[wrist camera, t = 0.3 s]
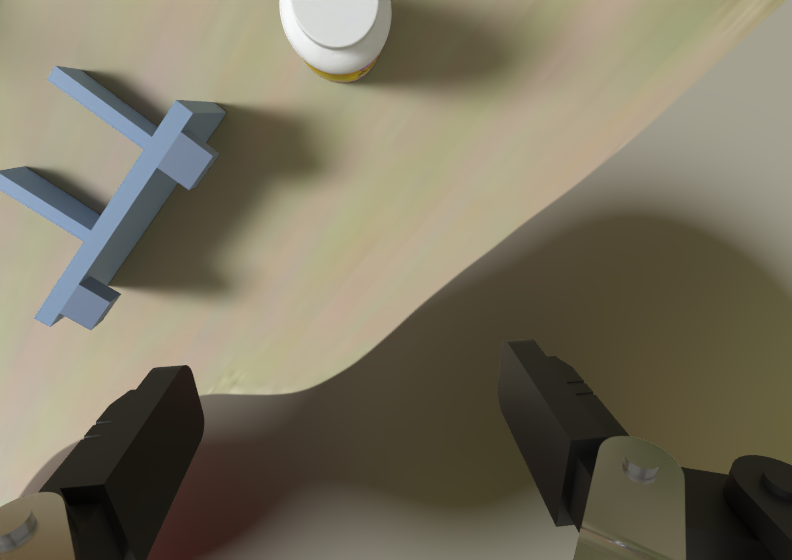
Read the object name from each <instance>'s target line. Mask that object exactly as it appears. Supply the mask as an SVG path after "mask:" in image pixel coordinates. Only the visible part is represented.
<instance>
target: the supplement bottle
mask: <svg viewBox="0 0 792 560" xmlns="http://www.w3.org/2000/svg"><path fill="white" fill-rule="evenodd" d="M279 5H280V16H281V21H282V24H283V28H284V31H285V33H286V36H287V38H288V40H289V42H290V43H291V45H292V46H293V48H294V49H295V51H296V52H297V53H298V54H299V56H300V57H301V58H302V59H303V60H304V61H305V63H306V64H307V65H308V66H309V67H310V68H311V69H312V70H313V71H314V72H315V73H316V74H317V75H319V76H320V77H322V78H324V79H326V80H328V81H331V82H336V83H348V82H352V81H355V80H357V79H360V78H361V77H363V76H364V75H365V74H367V73H368V72H369V71H370V70H371V68H372V67H373V66H374V64H375V62H376V61H377V59H378V57H379V55H380V53H381V51H382V48H383V46H384V44H385V42H386V40H387V37H388V34H389V30H390V26H391V16H392V11H391V1H390V0H280V3H279Z"/></svg>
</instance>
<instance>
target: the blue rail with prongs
mask: <svg viewBox="0 0 792 560" xmlns="http://www.w3.org/2000/svg"><path fill="white" fill-rule="evenodd" d="M47 80H48V81H49V82H51V83H52V84H54V85H55V86H56V87H58V88H59V89H61V90H62V91H63V92H65V93H66V94H68V95H69V96H70V97H72V98H73V99H74V100H76V101H77V102H79V103H80V104H81V105H83V106H84V107H86V108H87V109H88V110H90V111H91V112H93V113H94V114H95V115H97V116H98V117H99V118H101V119H102V120H104V121H105V122H106V123H108V124H109V125H111V126H112V127H113V128H115V129H116V130H118V131H119V132H120V133H122V134H123V135H124V136H126V137H127V138H129V139H130V140H131V141H133V142H134V143H136V144H137V145H138V146H140V147H141V148H143V149H144V150H143V151H142V153H141V154H140V156H139V158H138V159H137V161H136V162H135V164H134V165H133V167H132V168H131V170H130V171H129V173H128V174H127V176H126V178H125V179H124V181H123V182H122V184H121V185H120V187H119V188H118V190H117V191H116V193H115V194H114V196H113V197H112V199H111V201H110V202H109V204H108V205H107V207H106V208H105V210H104V211H103V213H102V214H101V215H99V214H98V213H96V212H95V211H93V210H92V209H90V208H89V207H87V206H85V205H84V204H82V203H81V202H79V201H78V200H76V199H75V198H73V197H71V196H70V195H68V194H67V193H65V192H64V191H62V190H61V189H59V188H57V187H56V186H54V185H53V184H51V183H50V182H48V181H47V180H45V179H43V178H42V177H40V176H39V175H37V174H36V173H34V172H33V171H31V170H29V169H28V168H26V167H25V166H24V167H18V168H12V169H6V170H1V171H0V190H1V191H2V192H4V193H6V194H7V195H9V196H10V197H12V198H14V199H15V200H17V201H19V202H20V203H22V204H23V205H25V206H27V207H28V208H30V209H32V210H33V211H35V212H37V213H38V214H40V215H41V216H43V217H45V218H46V219H48V220H50V221H51V222H53V223H54V224H56V225H58V226H59V227H61V228H63V229H64V230H66V231H67V232H69V233H71V234H72V235H74V236H76V237H77V238H79V239H80V240H82V241H84V242H83V244H82V245H81V247H80V248H79V250H78V251H77V253H76V254H75V256H74V257H73V259H72V260H71V262H70V263H69V265H68V267H67V268H66V270H65V271H64V273H63V274H62V276H61V277H60V279H59V280H58V282H57V283H56V285H55V287H54V288H53V290H52V291H51V293H50V294H49V296H48V297H47V299H46V300H45V302H44V303H43V305H42V306H41V308H40V310H39V311H38V313H37V314H36V316H35V317H34V319H36V320H38V321H40V322H42V323H44V324H45V325H47V326H49V327H51V326H52V325H53V324H55V323H56V322H58V321H59V320H60V319H62V318H63V317H65V316H66V317H67V318H69V319H71V320H73V321H75V322H77V323H78V324H80V325H82V326H84V327H86V328H87V329H89V330H92V329H93V328H94V327H95V326H96V325H98V324H99V323H100V322H101V321H102V320H103V319H104V317H105V316H106V315H107V313H108V312H109V310H110V309H111V307H112V306H113V305H114V303H115V302H116V300H117V299H118V298H119V296H120V295H121V294H120V293H118V292H117V291H115V290H113V289H112V288H110V287H108V286H107V285H108V284H109V282H110V281H111V280H112V278H113V277H114V275H115V274H116V272H117V271H118V269H119V268H120V267H121V265H122V264H123V262H124V261H125V259H126V258H127V256H128V255H129V253H130V252H131V251H132V249H133V248H134V246H135V245H136V243H137V242H138V240H139V239H140V238H141V236H142V235H143V233H144V232H145V230H146V229H147V227H148V226H149V225H150V223H151V222H152V220H153V219H154V217H155V216H156V214H157V213H158V212H159V210H160V209H161V207H162V206H163V204H164V203H165V201H166V200H167V198H168V197H169V196H170V194H171V193H172V191H173V190H174V188H175V187H176V185H177V184H178V183H179V184H181V185H182V186H184V187H185V188H186V189H188V190H191V189H193V188H195V187H197V186H198V184H199V183H200V181H201V180H202V179H203V177H204V176H205V174H206V173H207V171H208V170H209V169H210V167H211V166H212V164H213V163H214V162H215V160H216V159H217V157H218V156H219V153H218V152H217V151H215V150H214V149H213V148H211V147H210V146H209V145H207V144H206V142H207V141H208V139H209V138H210V136H211V135H212V133H213V132H214V130H215V129H216V128H217V126H218V125H219V123H220V122H221V120H222V119H223V117H224V116H225V115H226V113H227V112H225V111H224V110H223V109H222V108H220V107H219V106H218V105H217V104H215V103H214V102H201V101H184V100H176V101H175V102H174V104H173V105H172V107H171V108H170V110H169V111H168V113H167V115H166V116H165V118H164V119H163V121H162V122H161V124H160V125H159V127H157V126H155V125H154V124H153V123H151V122H150V121H149V120H147V119H146V118H145V117H143V116H142V115H141V114H139V113H138V112H136V111H135V110H134V109H132V108H131V107H130V106H128V105H127V104H126V103H124V102H123V101H122V100H120V99H119V98H118V97H116V96H115V95H114V94H112V93H111V92H110V91H108V90H107V89H106V88H104V87H103V86H102V85H100V84H99V83H98V82H96V81H95V80H94V79H92V78H91V77H90V76H88V75H87V74H86V73H84V72H83V71H82V70H80V69H73V68H66V67H60V66H55V67H54V68H53V70H52V72H51V74H50V76H49V77H48V79H47Z"/></svg>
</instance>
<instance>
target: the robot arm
mask: <svg viewBox="0 0 792 560" xmlns="http://www.w3.org/2000/svg"><path fill="white" fill-rule="evenodd" d="M498 400H499V405H500V409H501V412H502V414H503V417H504V419H505V421H506V423H507V424H508V427H509V429H510V431H511V433H512V435H513V437H514V439H515V442H516V444H517V446H518V448H519V450H520V452H521V454H522V456H523V458H524V460H525V462H526V465H527V467H528V469H529V471H530V473H531V475H532V477H533V479H534V481H535V483H536V486H537V488H538V490H539V492H540V494H541V496H542V498H543V500H544V502H545V504H546V506H547V508H548V510H549V513H550V515H551V517H552V519H553V521H554V523H555V525H556V526H557V527H558V526H567V525H575V526H576V528H577V530H578V532H579V537H578V542H577V546H576V551H575V555H574V559H573V560H792V465H790V464H787V463H785V462H782V461H779V460H776V459H773V458H769V457H764V456H758V455H748V456H742V457H739V458H737V459H736V460H735V461H734V462H733V464H732V466H731V469H730V472H729V474H728V475H727V474H720V473H714V472H708V471H701V470H695V469H689V468H684V467H680V465H679V464H678V463H677V461H676V460H675V459H674V458H673V457H672V456H671V455H670V454H669V453H667V452H666V451H664V450H663V449H662V448H660V447H658V446H656V445H655V444H652V443H650V442H648V441H645V440H643V439H639V438H635V437H630V436H629V435H628V433H627V432H626V431H625V430H624V429H623V427H622V426H621V425H620V424H619V423H618V422H617V420H616V419H615V418H614V417H613V415H612V414H611V413H610V412H609V411H608V409H607V408H606V407H605V406H604V405H603V403H602V402H601V401H600V400H599V399H598V397H597V396H596V395H593V391H592V390H591V389H590V388H589V387H588V385H587V384H586V383H585V384H584V381H583V379H582V378H581V377H580V376H579V374H578V373H577V372H576V371H575V370H574V368H573V367H571V366H570V365H568V364H567V363H565V362H563V361H562V360H560V359H558V358H557V357H556V356H551V357H547V356H546V355H545V354H544V352H543V351H542V350H541V348H540V347H539V346H538V344H537V343H536V342H535V341H534V340H533V339H524V340H511V341H504V342H503V343H502V346H501V354H500V367H499V380H498ZM203 432H204V414H203V410H202V407H201V403H200V399H199V395H198V392H197V388H196V384H195V381H194V377H193V373H192V371H191V369H190V367H189V366H187V365H182V366H170V367H157V368H153V369H152V370H151V371H150V372H149V373H148V375H147V376H146V377H145V379H144V380H143V381H142V382H141V384H140V385H139V386H138V388H137V389H136V390H130V391H128V392H127V393H126V394H124V395H123V396H121V397H120V398H119V399H117V400H116V401H115V402H113V403H112V404H110V405H109V406H108V408H107V409H106V410H105V411H104V413H103V414H102V415H101V416H100V417H99V419H98V420H97V421H96V425H93V426H92V427H91V428H90V430H89V431H88V432H87V433H86V435H85V436H84V440H81V441H80V442H79V443H78V444H77V446H76V447H75V448H74V449H73V450H72V452H71V453H70V454H69V455H68V457H67V458H66V459H65V460H64V462H63V463H62V464H61V465H60V466H59V468H58V469H57V470H56V471H55V472H54V474H53V475H52V476H51V477H50V478H49V480H48V481H47V482H46V483H45V485H44V486H43V487H42V488H41V489H40V491H39V492H38V493H34V494H30V495H27V496H23V497H21V498H18V499H16V500H13V501H11V502H9V503H7V504H5V505H3V506H2V507H0V560H146V559H147V557H148V555H149V553H150V550H151V548H152V546H153V544H154V542H155V540H156V538H157V535H158V533H159V531H160V529H161V527H162V524H163V522H164V520H165V518H166V516H167V513H168V511H169V509H170V507H171V505H172V502H173V501H174V498H175V496H176V494H177V492H178V490H179V487H180V485H181V483H182V481H183V479H184V476H185V474H186V472H187V470H188V468H189V466H190V464H191V461H192V459H193V457H194V455H195V453H196V450H197V448H198V446H199V444H200V442H201V439H202V436H203Z"/></svg>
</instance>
